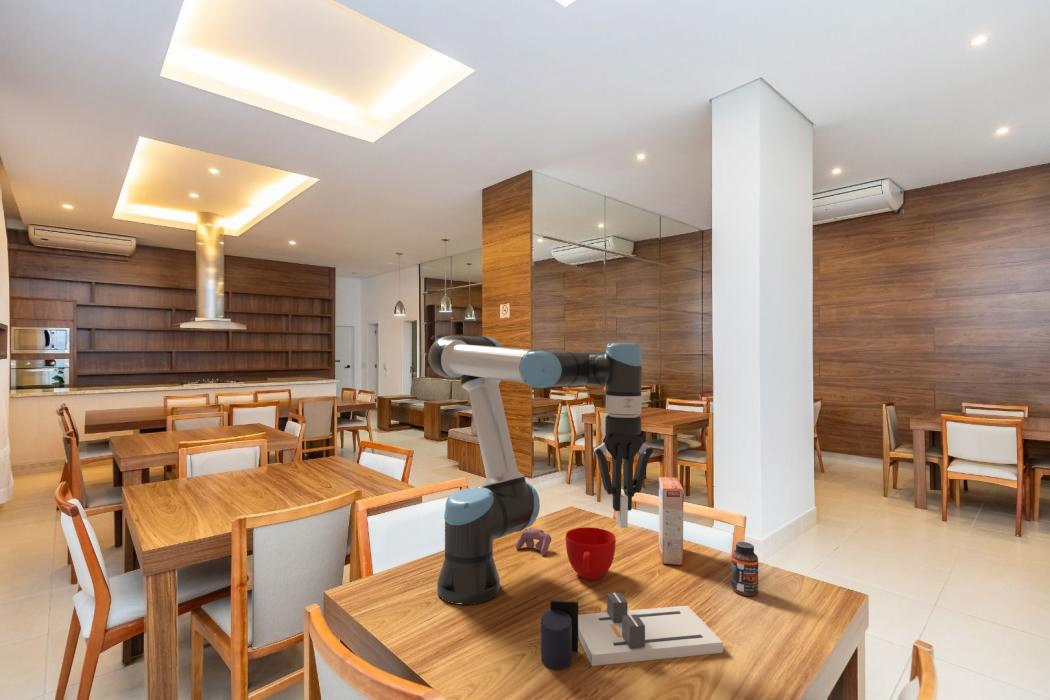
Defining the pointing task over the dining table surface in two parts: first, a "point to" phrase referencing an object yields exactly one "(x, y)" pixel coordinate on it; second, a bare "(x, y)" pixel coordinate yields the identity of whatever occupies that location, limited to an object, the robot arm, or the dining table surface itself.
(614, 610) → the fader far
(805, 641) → the dining table surface
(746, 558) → the supplement bottle
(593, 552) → the ceramic cup
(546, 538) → the purple arched piece
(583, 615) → the mixing board
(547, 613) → the speaker
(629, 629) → the fader near
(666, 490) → the cracker box
